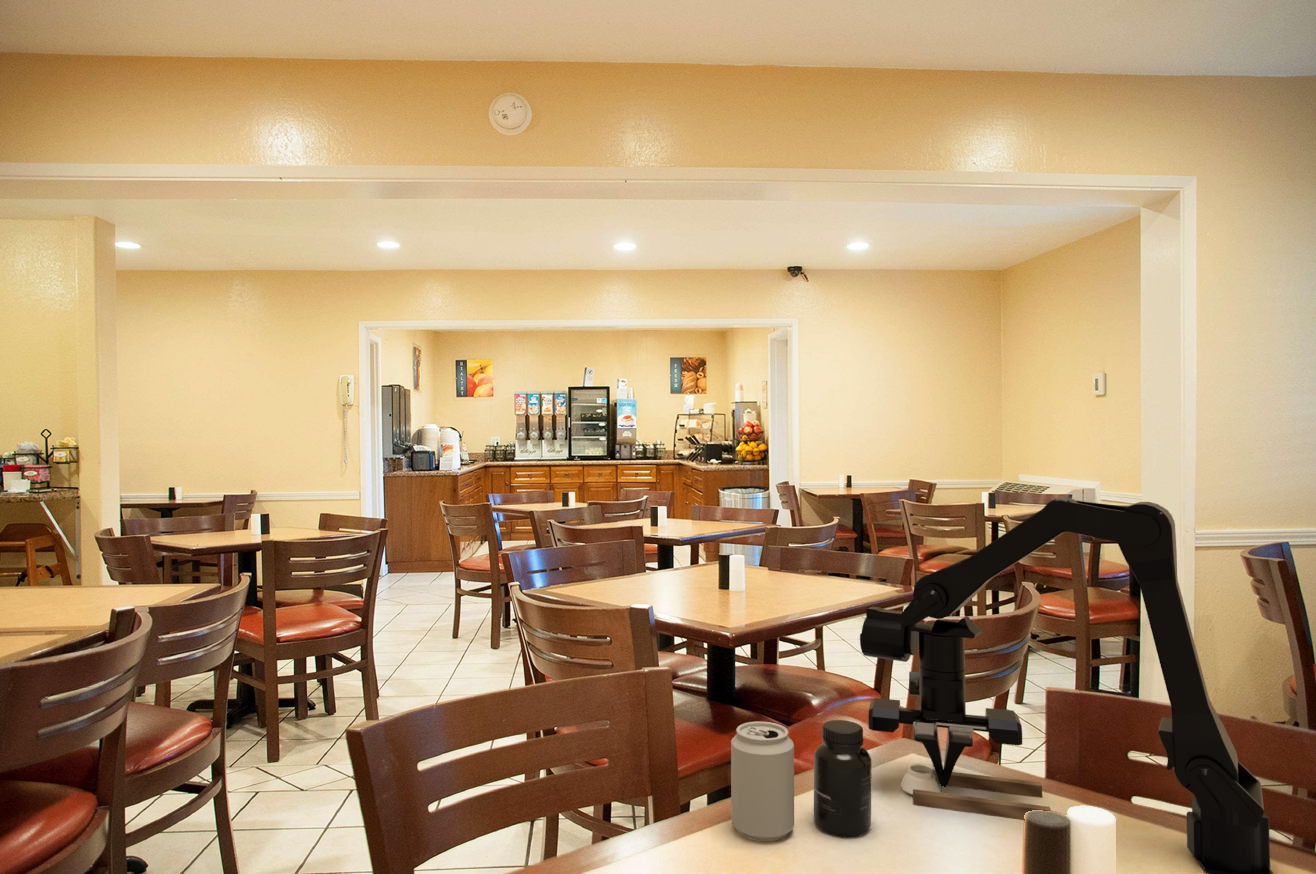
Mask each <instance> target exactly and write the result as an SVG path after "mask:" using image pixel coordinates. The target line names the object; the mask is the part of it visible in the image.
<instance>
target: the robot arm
mask: <svg viewBox="0 0 1316 874" xmlns="http://www.w3.org/2000/svg"><path fill="white" fill-rule="evenodd" d="M1065 532H1067V533H1074V534H1078V535H1082V536H1087V537H1091V538H1096V539H1100V540H1105V541H1110V542H1116V543H1117V545H1118V547H1119V549H1120V552H1121V553H1122V556H1123V558H1124V560H1125V562H1126V564H1127V565H1128V568H1129V570H1130V571H1131V573H1132V575H1133V576H1134V578H1135V581H1136V582H1137V583H1138V585H1139V588H1140V592H1141V597H1142V599H1143V602H1144V603H1143V604H1144V606H1145V610H1146V615H1147V618H1148V622H1149V626H1150V627H1149V628H1150V629H1151V634H1152V637H1153V641H1154V645H1155V648H1156V652H1157V653H1156V654H1157V657H1158V661H1159V664H1160V669H1161V673H1162V677H1163V680H1164V684H1165V685H1164V686H1165V689H1166V692H1167V695H1168V696H1167V697H1168V699H1169V704H1170V707H1171V717H1165V716H1163V717H1161V720H1160V723H1159V726H1158V727H1159V728H1158V736H1159V738H1160V741H1161V743H1162V746H1163V747H1164V750H1165V752H1166V755H1167V756H1166V757H1167V762H1166V770H1168V771H1170V770H1172V769H1174V774H1175V777H1176V779H1177V781H1178V782H1179V783H1180V785H1181V786H1182V787H1183V788H1185V789H1186V790H1187V791H1189V792H1190V793H1191V794H1193V795H1194V797H1191V811H1187V812H1186V842H1187V843H1186V847H1187V849H1188V851H1189V852H1190V854H1191V855H1192V857H1193V858H1194V859H1195V860H1196V861H1197V863H1198V864H1199V865H1200V867H1201V868H1202V870H1203V872H1204V873H1207V874H1274V872H1273V871H1272V870H1271V849H1270V817H1269V816H1268V814H1267V813H1265V808H1264V799H1263V797H1264V796H1263V789H1262V783H1261V781H1260V780H1259V779H1258V778H1257V777H1256V776H1255V775H1254V774H1253V773H1252V772H1251V771H1250V770H1248V769H1247V767H1245V765H1243V764H1242V763H1241V762H1240V760H1239V759H1238V758H1239V757H1238V754H1237V751H1236V748H1235V746H1234V744H1233V743H1232V740H1231V738H1230V736H1229V734H1228V732H1227V729H1226V727H1225V725H1224V723H1223V721H1222V720H1221V718H1220V716H1219V715H1218V712H1217V711H1216V709H1215V708H1214V706H1213V704H1212V701H1211V700H1210V696H1209V691H1208V689H1207V684H1206V681H1205V677H1204V673H1203V670H1202V667H1201V663H1200V657H1199V656H1198V655H1199V654H1198V652H1197V648H1196V644H1195V640H1194V637H1193V633H1192V629H1191V625H1190V621H1189V616H1188V613H1187V611H1186V606H1185V603H1184V598H1183V595H1182V591H1181V588H1180V584H1179V583H1180V582H1179V579H1178V578H1179V577H1178V558H1177V557H1178V554H1177V553H1178V552H1177V535H1176V523H1175V519H1174V518H1173V515H1172V513H1170V511H1169V510H1168V509H1166V508H1165V507H1164V506H1163V505H1159V504H1158V503H1155V502H1151V501H1140V502H1136V503H1133V504H1130V505H1128V506H1122V505H1115V504H1107V503H1101V502H1100V503H1099V502H1090V501H1083V500H1075V499H1074V498H1071V497H1066V496H1065V497H1059V498H1054V499H1052V500H1050V501H1048V502H1047V503H1046V505H1045V506H1044V507H1043V508H1041V509H1040V510H1038V511H1037V512H1036V513H1034V514H1032V515H1031V516H1029V517H1028V518H1027V519H1026V520H1024V521H1022V522H1020V523H1019V524H1018V525H1016V526H1015V527H1013V528H1012V529H1010V530H1009V531H1007V532H1005V533H1003V534H1002V535H1001V536H999V537H997V538H996V539H995V540H994V541H992V542H990V543H989V544H987V545H986V546H984V547H982V548H981V549H980V550H978V551H977V552H975V553H974V554H972V555H970V556H968V557H966V558H964V559H962V560H960V561H957V562H955V563H952V564H950V565H948V566H946V567H944V568H940V569H938V570H936V571H934V572H931V573H928V574H926V575H924V576H923V577H920V578H919V579H918V580H917V581H916V582H915V584H914V585H913V593H912V596H913V598H912V600H910V602H909V604H908V605H907V606H906V607H905V608H904V609H903V611H901V610H892V609H886V608H882V607H880V606H871V607H868V608H867V609H865V610H866V612H865V614H866V616H865V619H864V621H863V624H862V627H861V633H859V645H860V649H861V650H860V651H861V654H862V655H863V656H865V657H869V658H877V659H883V660H891V661H897V662H903V663H907V662H908V661H909V660H910V658H911V656H916V655H917V653H918V654H919V655H918V658H919V659H918V661H919V662H918V664H919V665H918V668H919V669H918V672H917V671H909V673H908V674H909V675H908V677H909V678H908V684H909V685H908V687H909V689H908V693H909V695H910V696H912V697H913V696H915V697H918V698H919V709H911V708H901V700H900V699H899V700H898V699H890V698H889V699H888V698H881V697H880V698H878V697H874V698H873V699H872V700H871V701H870V703H869V708H868V729H869V730H871V731H876V732H882V733H883V732H884V733H891V734H892V733H894V732H895V731H896V730H898V729H899V728H900V724H903V725H913V730H914V731H913V733H914V734H913V739H914V741H915V742H921V743H922V744H923V746H924V749H925V751H926V753H927V754H928V756H929V758H930V760H931V763H932V766H933V770H935V771H936V774H937V777H938V780H939V783H940V786H941V788H947V787H948V786H947V785H948V782H949V779H950V777H951V774H952V772H954V768H955V766H956V764H957V761H958V759H959V758H960V757H961V754H962V753H963V751H964V749H965V748H966V747H968V748H971V747H973V746H974V741H973V740H974V739H973V735H974V731H975V732H983V733H988V737H989V738H990V739H991V740H992V741H993V743H994V744H999V745H1007V746H1009V745H1010V746H1022V745H1023V727H1022V723H1021V720H1020V718H1019V715H1018V714H1017V713H1016V712H1015V711H1014V710H1012V709H1011V710H1010V709H1000V708H992V707H991V708H990V707H986V708H985V711H984V712H985V713H984V714H985V715H976V714H975V715H974V714H967V712H966V710H967V708H966V656H965V655H966V652H965V648H966V647H965V646H966V645H965V642H966V641H965V640H966V639H975V638H976V637H977V636H979V635H981V633H982V629H981V628H980V627H978V626H977V625H976V624H975V623H974V622H973V621H972V620H971V619H970V616H968V615H966V616H964V617H962V618H960V620H959V621H958V620H950V619H944V618H947V617H950V616H951V615H952V614H954V613H956V612H958V611H959V610H961V609H963V607H965V605H967V604H968V603H969V602H970V601H971V600H972V599H973V598H974V597H975V596H976V595H977V594H978V593H980V591H981V590H983V588H984V587H985V586H986V585H987V584H988V583H989V582H990V581H991V580H992V579H993V578H995V577H996V576H998V575H1000V573H1002V572H1004V571H1006V570H1007V569H1008V568H1010V567H1012V566H1014V565H1015V564H1018V562H1020V561H1021V560H1023V559H1025V558H1026V557H1028V556H1029V555H1031V554H1033V553H1034V552H1035V551H1038V550H1039V549H1040V548H1042V547H1044V546H1045V545H1046V544H1048V543H1050V542H1051V541H1053V540H1054V539H1057V537H1059V536H1061V535H1062V534H1064V533H1065ZM927 618H931V619H936V620H935V621H934V623H933V624H930V623H921V621H923V620H926V619H927ZM938 728H945V729H947V733H946V743H945V753H944V762H943V758H942V752H941V751H942V750H941V746H940V739H939V737H940V736H939V732H938V731H939V729H938Z"/></svg>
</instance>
